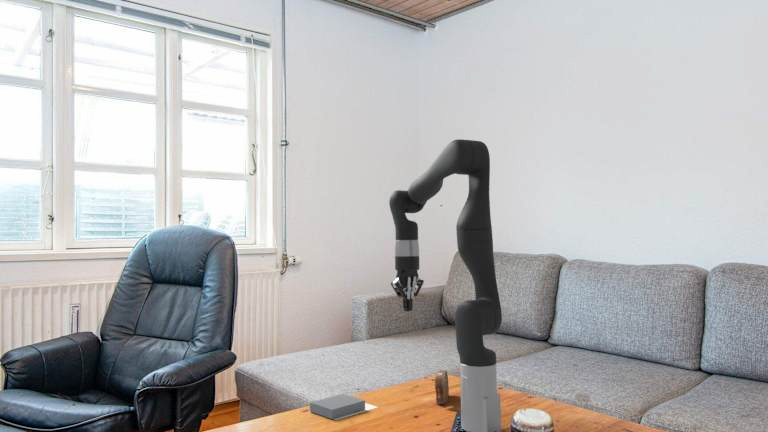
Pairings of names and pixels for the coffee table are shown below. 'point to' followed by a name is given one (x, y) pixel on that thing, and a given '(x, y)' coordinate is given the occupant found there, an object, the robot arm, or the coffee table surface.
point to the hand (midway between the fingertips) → (408, 311)
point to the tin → (441, 387)
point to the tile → (337, 406)
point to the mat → (367, 407)
